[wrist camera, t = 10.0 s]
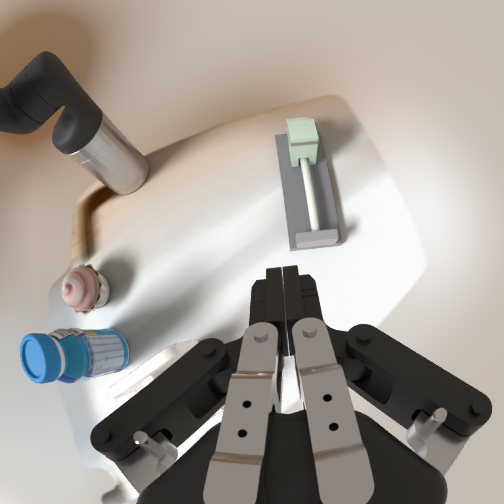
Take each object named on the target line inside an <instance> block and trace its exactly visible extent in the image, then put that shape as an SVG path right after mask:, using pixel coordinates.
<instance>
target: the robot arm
mask: <svg viewBox="0 0 504 504" xmlns="http://www.w3.org/2000/svg"><path fill="white" fill-rule="evenodd" d="M62 106H65V108H64V110H63V112H62V114H61V115H60V117H59V119H58V121H57V123H56V124H55V127H54V130H53V135H52V141H53V144H54V146H55V147H56V148H57V149H58V150H60V151H61V152H62V153H63V154H65V155H66V156H67V157H69V158H70V159H71V160H73V161H74V162H75V163H77V164H78V165H79V166H81V167H82V168H83V169H85V170H86V171H87V172H89V173H90V174H91V175H93V176H94V177H96V178H97V179H98V180H99V181H101V182H102V183H103V184H105V185H106V186H107V187H109V188H110V189H111V190H113V191H114V192H116V193H117V194H119V195H128V194H131V193H133V192H134V191H136V190H137V189H138V188H139V187H140V186H141V185H142V184H143V183H144V181H145V179H146V178H147V175H148V171H149V165H148V162H147V160H146V159H145V157H144V156H143V155H142V154H141V153H140V152H139V151H138V150H137V149H136V148H135V147H134V146H133V144H132V143H131V142H130V141H129V140H128V139H127V138H126V137H125V136H124V135H123V134H122V132H121V131H120V130H119V129H118V128H117V127H116V126H115V125H114V124H113V122H112V121H111V120H110V119H109V118H108V117H107V116H106V115H105V114H104V113H103V111H102V110H101V109H100V108H99V107H98V106H97V105H96V104H95V103H94V101H93V100H92V99H91V98H90V97H89V96H88V94H87V93H86V92H85V91H84V90H83V89H82V88H81V86H80V85H79V84H78V82H77V81H76V80H75V79H74V77H73V76H72V75H71V73H70V72H69V71H68V69H67V68H66V66H65V65H64V64H63V63H62V61H61V60H60V59H59V58H58V57H57V56H56V55H54V54H53V53H51V52H47V51H45V52H42V53H40V54H39V55H37V56H36V57H35V58H34V59H33V60H32V61H31V62H30V63H29V64H28V65H27V66H26V67H25V68H24V69H22V70H21V72H20V73H19V74H18V75H17V76H16V77H15V78H14V79H13V80H12V81H11V82H10V83H9V84H8V85H7V86H6V87H4V88H0V131H1V132H7V133H14V134H29V133H32V132H34V131H35V130H37V129H38V128H39V127H41V126H42V125H43V124H44V123H45V122H46V121H47V120H48V119H49V118H50V117H51V116H52V115H53V114H54V113H55V112H56V111H57V110H58V109H60V108H61V107H62ZM283 281H284V285H283ZM287 332H288V337H287ZM288 341H289V350H290V356H292V355H294V359H295V370H296V377H297V383H298V389H299V396H300V402H301V409H302V410H301V411H298V412H295V413H292V414H282V413H281V402H282V387H283V368H284V356H289V354H288ZM348 387H350V388H351V389H352V390H354V391H355V392H356V393H358V394H359V395H360V396H362V397H363V398H364V399H366V400H367V401H368V402H370V403H371V404H372V405H374V406H375V407H376V408H378V409H379V410H381V411H382V412H384V413H385V414H386V415H388V416H389V417H390V418H392V419H393V420H395V421H396V422H397V423H399V424H400V425H402V426H403V427H404V428H406V429H407V435H406V437H407V442H408V444H409V445H410V446H411V447H412V448H413V449H414V451H415V452H414V451H412V450H411V449H409V448H408V447H407V446H406V445H404V444H403V443H402V442H401V441H399V440H398V439H397V438H395V437H394V436H393V435H392V434H390V433H389V432H388V431H387V430H385V429H384V428H383V427H381V426H380V425H379V424H378V423H377V422H375V421H374V420H373V419H372V418H370V417H369V416H367V415H365V414H363V413H361V412H358V411H355V410H354V408H353V405H352V401H351V397H350V394H349V390H348ZM224 405H225V407H224V412H223V417H222V422H220V423H218V424H217V425H215V426H213V427H212V428H211V429H210V430H208V431H207V432H206V433H205V434H204V435H203V436H202V437H201V438H200V439H199V440H198V441H197V442H196V443H195V444H194V445H193V446H192V447H191V448H190V449H189V450H188V451H187V452H186V453H185V454H183V455H182V456H181V457H180V458H179V459H178V460H177V461H176V459H177V456H178V451H177V447H178V446H180V445H181V444H182V443H183V442H184V441H185V440H187V439H188V438H189V437H190V436H191V435H192V434H193V433H194V432H196V431H197V430H198V429H199V428H200V427H201V426H202V425H203V424H204V423H205V422H207V421H208V420H209V419H210V418H211V417H212V416H213V415H214V414H215V413H216V412H217V411H218V410H219V409H220V408H221V407H222V406H224ZM491 413H492V404H491V401H490V399H489V398H488V397H487V396H486V395H485V394H483V393H482V392H480V391H478V390H477V389H475V388H474V387H472V386H470V385H469V384H467V383H465V382H464V381H462V380H461V379H459V378H457V377H455V376H454V375H452V374H451V373H449V372H447V371H445V370H444V369H442V368H441V367H439V366H438V365H436V364H434V363H433V362H431V361H429V360H428V359H426V358H424V357H423V356H421V355H420V354H418V353H416V352H415V351H413V350H411V349H410V348H408V347H406V346H405V345H403V344H402V343H400V342H398V341H397V340H395V339H393V338H392V337H390V336H388V335H387V334H385V333H384V332H382V331H380V330H379V329H377V328H375V327H374V326H371V325H368V324H359V325H356V326H354V327H352V328H351V329H350V330H349V331H348V332H347V331H339V330H335V329H332V328H330V327H329V326H328V325H326V323H325V322H324V320H323V317H322V312H321V307H320V302H319V297H318V292H317V287H316V283H315V280H314V279H313V278H312V277H311V276H310V275H309V274H308V275H299V273H298V266H297V265H294V266H285V267H283V277H282V269H281V267H277V268H267V269H266V279H262V280H256V282H255V283H254V285H253V286H252V290H251V304H250V318H249V327H248V328H247V329H246V331H245V332H244V335H243V336H242V337H241V338H239V339H237V340H235V341H232V342H229V343H226V344H224V343H223V342H222V341H221V340H219V339H215V338H208V339H204V340H202V341H200V342H199V343H197V344H196V345H195V346H194V347H193V348H191V349H190V350H189V351H188V352H187V353H185V354H184V355H183V356H182V357H181V358H179V359H178V360H177V361H176V362H175V363H173V364H172V365H171V366H170V367H169V368H167V369H166V370H165V371H164V372H163V373H161V374H160V375H159V376H158V377H156V378H155V379H154V380H153V381H152V382H150V383H149V384H148V385H147V386H145V387H144V388H143V389H142V390H140V391H139V392H138V393H137V394H135V395H134V396H133V397H132V398H130V399H129V400H128V401H127V402H125V403H124V404H123V405H122V406H120V407H119V408H118V409H116V410H115V411H114V412H113V413H111V414H110V415H109V416H107V417H106V418H105V419H104V420H102V421H101V422H100V423H98V424H97V425H96V426H95V427H94V428H93V430H92V432H91V437H90V439H91V444H92V446H93V447H94V448H95V449H96V450H97V451H99V452H100V453H102V454H103V455H105V456H106V457H107V458H108V459H110V460H112V461H113V462H115V464H116V465H117V466H118V468H119V469H120V470H121V472H122V473H123V474H124V476H125V477H126V478H127V479H128V481H129V482H130V483H131V484H132V486H133V487H134V488H135V489H136V490H137V492H138V493H139V494H140V495H139V497H138V500H137V503H136V504H445V502H446V499H447V491H448V490H447V483H446V480H445V478H444V475H445V474H446V472H447V471H448V470H449V468H450V467H451V465H452V464H453V462H454V461H455V459H456V458H457V456H458V455H459V453H460V452H461V450H462V448H463V447H464V445H465V444H466V442H467V440H468V439H469V437H470V436H471V435H473V434H474V433H475V432H476V431H477V430H478V429H479V428H481V427H482V426H483V425H484V424H485V423H486V422H487V421H488V420H489V418H490V416H491ZM175 461H176V462H175Z"/></svg>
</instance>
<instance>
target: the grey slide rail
mask: <svg viewBox="0 0 504 504" xmlns="http://www.w3.org/2000/svg"><path fill="white" fill-rule="evenodd" d="M296 120H308V117H302V118H292V119H286V123H287V121H296ZM317 134H318V146H317V156H316V164H315V165H309V163H308V158H299V159H298V167H292V165H291V159H290V153H289V142H288V129H287V134H282V135H275V139H276V146H277V152H278V159H279V166H280V173H281V180H282V188H283V195H284V203H285V211H286V219H287V227H288V235H289V244H290V251H295V250H305V249H314V248H323V247H332V246H340V245H341V243H342V242H341V236H340V230H339V224H338V218H337V213H336V207H335V202H334V197H333V191H332V186H331V182H330V177H329V172H328V168H327V163H326V159H325V154H324V150H323V146H322V142H321V138H320V134H319V131H317Z"/></svg>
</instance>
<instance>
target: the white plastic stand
mask: <svg viewBox="0 0 504 504" xmlns="http://www.w3.org/2000/svg"><path fill="white" fill-rule="evenodd" d="M197 343H199V342H198V341H197V339H195V340H190V341H186V342H181V343H176V344H173V345H171V346H169V347H167V348H165V349H164V350H162V351H161V352H159V353H158V354H156V355H155V356H154V357H152V358H151V359H149V360H148V361H147V362H145V363H144V364H142V365H141V366H140V367H138V368H137V369H135V370H134V371H133V372H131V373H130V374H128V375H127V376H126V377H124V378H123V379H121V380H120V381H118V382H117V383H116V384H114V385H113V386H111V387H110V388H109V389H108V393H109V395H110V396H111V398H112V399H116V398H119V397H121V396H124V395H126V394H129V393H131V392H133V393H134V395H135V394H137V393H138V391H137V390H139V389H141V388H143V387H145V386H147V385H148V384H149V383H150V382H152V381H153V380H154V379H155V378H156V377H158V376H159V375H160V374H161V373H163V372H164V371H165V370H166V369H167V368H169V367H170V366H171V365H172V364H173V363H175V362H176V361H177V360H178V359H179V358H181V357H182V356H183V355H184V354H185V353H187V352H188V351H189V350H190V349H191V348H193V347H194V346H195V345H196V344H197ZM224 407H225V406H222V407H221V408H220V409H219V410H218V411H217V412H216V413H215V414H217V413H219V411H222V410H223V409H224ZM215 414H214V415H215ZM214 415H213V416H214ZM213 416H212V417H213Z"/></svg>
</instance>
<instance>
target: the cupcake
mask: <svg viewBox="0 0 504 504" xmlns="http://www.w3.org/2000/svg"><path fill="white" fill-rule="evenodd" d="M62 296H63V298H64V300H65V301H66V303H67V304H69V305H70V306H71V307H72V308H73V309H74V310H75V313H79V312H81V313H83V314H84V315H87V314H88V313H89V312H90V311H94V310H95V309H98V308H101V307H103V306H104V305H105V304H106V303H107V301H108V299H109V296H110V287H109V283H108V281H107V280H106V278H105V277H104V276H102V275H101V274H99V272H98V271H96V270H95V269H94V268H93V267H92V265H91V264H88V265H87V266H85V265H84V264H80V265H79V267H76V268H74V269H72V270H71V271H70V272H69V273H68V274H67V275H66V277H65V278H64V280H63V284H62Z"/></svg>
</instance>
